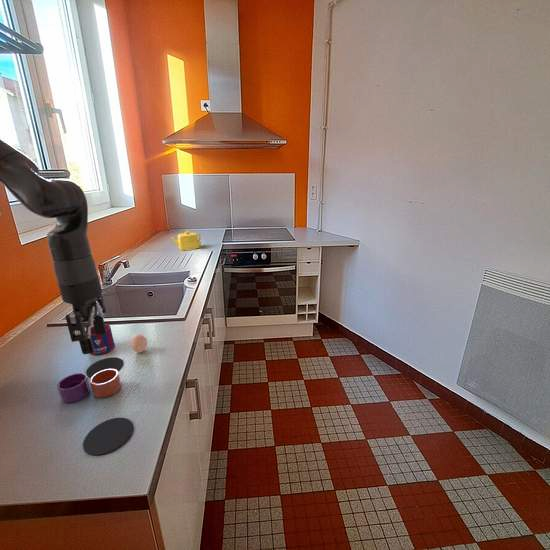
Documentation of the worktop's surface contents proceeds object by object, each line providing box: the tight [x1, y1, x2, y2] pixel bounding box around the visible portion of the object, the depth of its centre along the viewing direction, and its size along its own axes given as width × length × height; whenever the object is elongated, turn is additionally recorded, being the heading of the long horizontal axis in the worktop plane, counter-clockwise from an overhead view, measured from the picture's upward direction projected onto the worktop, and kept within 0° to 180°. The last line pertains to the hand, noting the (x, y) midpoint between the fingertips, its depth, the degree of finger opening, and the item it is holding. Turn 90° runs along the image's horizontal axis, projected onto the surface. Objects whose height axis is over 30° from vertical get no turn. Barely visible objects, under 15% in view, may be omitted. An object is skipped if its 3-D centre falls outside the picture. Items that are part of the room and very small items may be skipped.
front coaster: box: [82, 417, 134, 457], centre depth 61 cm, size 9×9×1 cm
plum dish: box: [56, 372, 91, 404], centre depth 72 cm, size 6×6×4 cm
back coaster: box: [85, 356, 124, 379], centre depth 82 cm, size 9×9×1 cm
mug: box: [85, 323, 116, 356], centre depth 92 cm, size 7×10×7 cm
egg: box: [130, 333, 148, 354], centre depth 89 cm, size 4×4×6 cm
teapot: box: [171, 230, 202, 251], centre depth 209 cm, size 20×12×12 cm, turn 115°
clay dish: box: [89, 369, 122, 398], centre depth 73 cm, size 6×6×4 cm
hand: (95, 342), depth 70 cm, fingers open, 8 cm apart
